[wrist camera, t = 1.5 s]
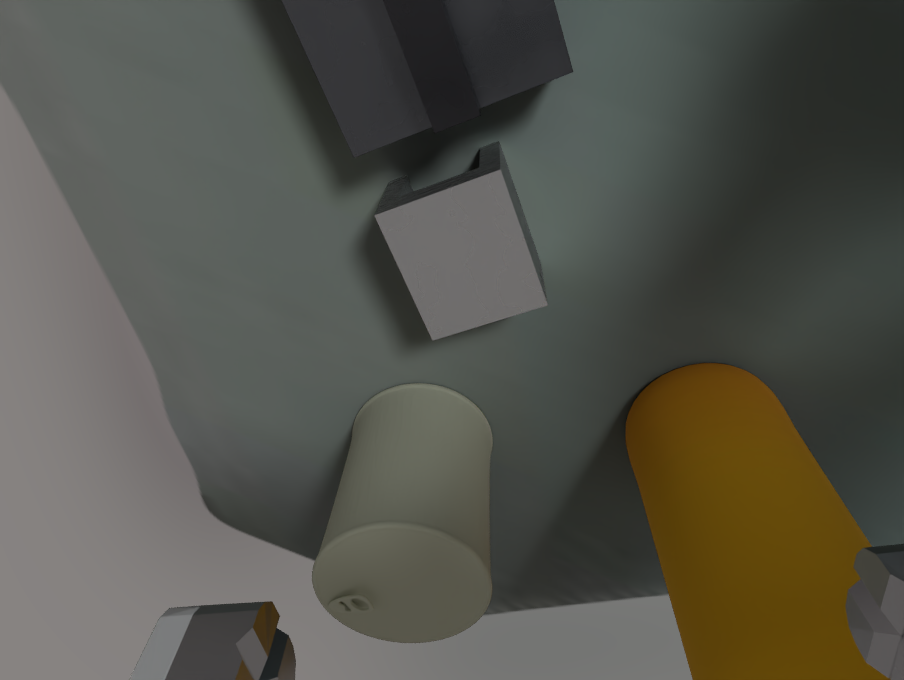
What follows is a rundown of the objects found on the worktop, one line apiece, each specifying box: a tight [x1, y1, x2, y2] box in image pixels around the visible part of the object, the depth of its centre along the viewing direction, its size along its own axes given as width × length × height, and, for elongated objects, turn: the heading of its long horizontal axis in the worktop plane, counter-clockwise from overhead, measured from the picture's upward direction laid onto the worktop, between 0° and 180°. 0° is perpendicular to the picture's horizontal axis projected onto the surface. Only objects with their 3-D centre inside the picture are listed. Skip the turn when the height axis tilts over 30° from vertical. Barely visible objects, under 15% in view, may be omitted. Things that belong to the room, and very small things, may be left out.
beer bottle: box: [625, 363, 888, 680], centre depth 27 cm, size 9×9×29 cm
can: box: [312, 383, 493, 643], centre depth 36 cm, size 9×9×12 cm
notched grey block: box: [374, 141, 548, 340], centre depth 32 cm, size 7×6×5 cm
